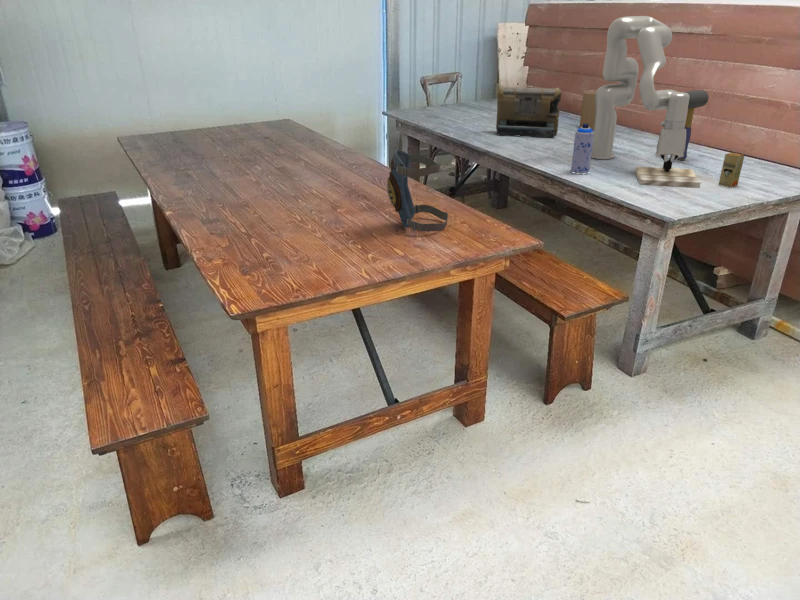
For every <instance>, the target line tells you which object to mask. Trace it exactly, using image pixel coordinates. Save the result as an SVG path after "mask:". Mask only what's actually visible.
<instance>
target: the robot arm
mask: <svg viewBox="0 0 800 600" xmlns="http://www.w3.org/2000/svg"><path fill="white" fill-rule="evenodd" d="M606 38H607V39H606V40H607V41H606V51H605V57H604V64H603V68H602V77H603V79H604V80H605V81H606V82H611V84H610V83H609V84H605V85H602V86H599V88H598V89H596V90H597V91H596V94H595V120H594V128H593V131H594V138H593V146H592V153H591V159H594V158H596V160H612V159H614V158H616V154H615V153H614V152H613V148H614V141H615V134H616V126H617V119H618V117H617V111H616V108H615V107H622V106H627V105H629V104H630V103H631V102H632V101H633V99H634V96H635V93H636V88H637V84H638V77H639V71H640V70H639V69H640V68H639V64H638V61H637V59H635V58H633V57H627V53H628V44H627V43H628V42H627V41H626V39H636V41H637V42H636V43H637V45H638V49H639V54H640V58H641V62H642V66H643V71H642V74H641V76H640V79H639V84H638V91H639V95H640V99H641V102H642V105H643V108H645V109H646V110H648V111H651V112H653V111H660V110H665V118H664V121H660V126H661V127H662V126H663V127H662V128H661V129H660V133H659V136H658V139H657V143H656V151H655V154H654V156H656V157H657V158H661V159H662V160H663V166H662V168H663V169H664V171H665V172H667V171H668V172H669V171H670V169H671V168H672V166H673V163H674V161H676V160H678V158H679V157H683V156H684V151H685V144H686V129H684V127H685V122H686V117H687V112H688V104H689V98H690V96H689V94H688V93H684V92H685V91H684V92H681V91H676V90H675V89H660V90H656V87H655V81H654V80H655V79H654V78H655V75H656V73H657V71H659V70H661V69H662V68H663V67H664V66H666V63H667V59H666V56H665V50H664V48H667V47H668V46H670V45H671V43H672V40H673V33H672V30H671V28H670V27H669V26H668V25H667V24H665V23H663V22H661V21H660V20H658V19H656V18H654V17H652V16H648V15H632V16H631V15H627V16H626V15H625V16H621V17H618V18H616V19H614V20H613V21H612V22H611V24H610V25H609V27H608V29H607V34H606ZM612 82H618V83H612ZM669 156H670V157H669ZM668 157H669V159H668Z"/></svg>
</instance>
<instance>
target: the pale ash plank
mask: <svg viewBox="0 0 800 600" xmlns="http://www.w3.org/2000/svg"><path fill="white" fill-rule="evenodd" d="M638 174H641V175H662V176H683V177H697V175H696V173H695V172H694V170H693V168H677V167H676V168H675V167H673V168H672V167H671V169H670V171H669V172H668V171H667V172H665V171H664V169H663V167H656V166H655V167H651V166H635V175H636V178H637V179H638Z"/></svg>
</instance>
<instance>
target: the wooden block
mask: <svg viewBox="0 0 800 600" xmlns="http://www.w3.org/2000/svg"><path fill="white" fill-rule="evenodd" d="M597 90H598V89H589V90H585V91H583V95H582V103H581V109H580V110H581V112H580V120H579V128H581V127H583V124H589V125H588V127H590V128H591V129H592V130H593V128H594V120H595V94H596V91H597Z"/></svg>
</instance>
